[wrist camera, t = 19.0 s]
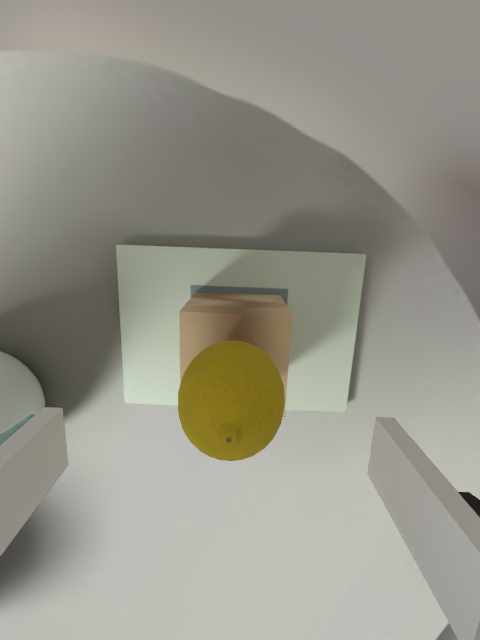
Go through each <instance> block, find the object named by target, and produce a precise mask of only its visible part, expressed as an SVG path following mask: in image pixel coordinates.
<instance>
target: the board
mask: <svg viewBox="0 0 480 640" xmlns="http://www.w3.org/2000/svg"><path fill="white" fill-rule="evenodd" d="M366 255H367V254H360V253H334V252H308V251H282V250H256V249H229V248H203V247H177V246H151V245H125V244H119V245H116V259H117V277H118V294H119V312H120V329H121V347H122V365H123V382H124V400H125V403H132V404H157V405H178V392H179V387H180V327H179V311H180V310H181V309H182V308H183V307H184V305H185V304H186V303H187V302H188V301H189V299H190V298H191V297H192V296H193V295H194V294H195V292H205V293H233V294H260V295H281V297H282V298H283V300H284V302H285V304H286V305H287V307H288V309H289V311H290V312H291V314H292V328H291V341H290V354H289V367H288V380H287V393H286V407H285V410H302V411H327V412H346V407H347V400H348V392H349V384H350V377H351V369H352V361H353V354H354V346H355V339H356V331H357V323H358V316H359V308H360V301H361V293H362V285H363V278H364V270H365V262H366Z"/></svg>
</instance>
